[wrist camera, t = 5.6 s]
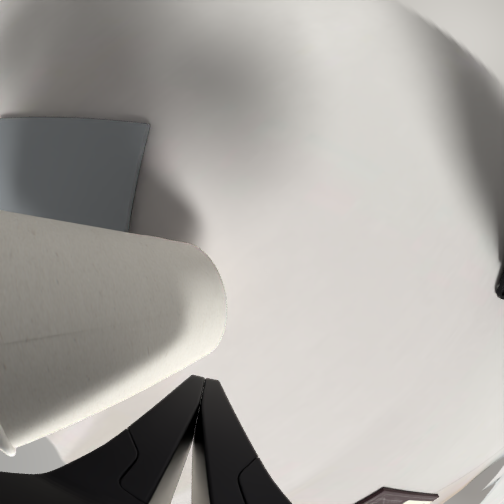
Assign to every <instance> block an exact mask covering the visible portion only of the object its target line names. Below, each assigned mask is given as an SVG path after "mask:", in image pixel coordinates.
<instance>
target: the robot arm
mask: <svg viewBox="0 0 504 504" xmlns="http://www.w3.org/2000/svg"><path fill="white" fill-rule="evenodd" d="M497 296H498V297H499V298H501V299H504V272H503V275H502V278H501V281H500V284H499V287H498V290H497ZM204 382H205V383H204ZM203 387H204V388H203ZM202 392H203V393H202ZM201 397H202V398H201ZM200 402H201V403H200ZM199 407H200V408H199ZM198 412H199V413H198ZM197 417H198V418H197ZM196 422H197V423H196ZM195 427H196V428H195ZM194 432H195V433H194ZM193 437H194V439H193ZM192 441H193V450H192V504H292V503H291V502H290V501H289V499H288V498H287V497H286V496H285V495H284V494H283V492H282V491H281V490H280V489H279V487H278V486H277V485H276V483H275V482H274V481H273V479H272V478H271V476H270V475H269V473H268V472H267V470H266V469H265V467H264V465H263V463H262V462H261V460H260V458H258V455H257V453H256V451H255V450H254V448H253V446H252V444H251V442H250V441H249V439H248V437H247V435H246V433H245V431H244V429H243V427H242V426H241V424H240V422H239V420H238V418H237V416H236V414H235V412H234V410H233V408H232V406H231V404H230V402H229V400H228V398H227V396H226V394H225V392H224V390H223V388H222V386H221V384H220V382H219V381H218V380H214V379H209V378H206V379H205V378H204V377H200V376H196V375H191V376H190V377H189V378H187V379H186V380H185V381H184V382H183V383H182V384H180V385H179V386H178V387H177V388H176V389H174V390H173V391H172V392H171V393H170V394H168V395H167V396H166V397H165V398H164V399H162V400H161V401H160V402H159V403H158V404H156V405H155V406H154V407H153V408H151V409H150V410H149V411H148V412H147V413H145V414H144V415H143V416H142V417H140V418H139V419H138V420H137V421H135V422H134V423H133V424H131V425H130V426H129V427H128V428H127V429H125V430H124V431H122V432H121V433H120V434H119V435H117V436H116V437H114V438H113V439H112V440H110V441H109V442H107V443H106V444H104V445H102V446H101V447H99V448H97V449H96V450H94V451H92V452H90V453H88V454H86V455H84V456H82V457H80V458H78V459H76V460H74V461H72V462H70V463H68V464H66V465H64V466H62V467H60V468H58V469H56V470H53V471H50V472H47V473H43V474H19V473H8V472H0V504H170V503H171V500H172V498H173V495H174V492H175V489H176V487H177V484H178V481H179V478H180V476H181V473H182V470H183V467H184V464H185V462H186V459H187V456H188V453H189V450H190V448H191V444H192Z"/></svg>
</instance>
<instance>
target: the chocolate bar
mask: <svg viewBox="0 0 504 504" xmlns="http://www.w3.org/2000/svg"><path fill="white" fill-rule="evenodd" d="M438 497H439V496H438V495H437V494H425V493H416V492H408V491H401V490H395V489H389V488H384V487H383V488H382V489H380V490H379V491H377V492H375V493H374V494H372V495H370V496H368V497H367V498H365V499H363V500H361V501H360V502H358V503H356V504H429V503H431V502H432V501H434V500H435V499H437V498H438Z"/></svg>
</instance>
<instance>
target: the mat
mask: <svg viewBox="0 0 504 504" xmlns="http://www.w3.org/2000/svg"><path fill="white" fill-rule="evenodd" d="M149 129H150V125H149V124H146V123H137V122H128V121H117V120H105V119H90V118H69V117H20V118H0V210H3V211H8V212H14V213H20V214H25V215H31V216H37V217H42V218H48V219H54V220H59V221H65V222H71V223H76V224H82V225H88V226H93V227H99V228H105V229H111V230H116V231H122V232H128V230H129V223H130V217H131V211H132V205H133V200H134V194H135V189H136V184H137V179H138V175H139V170H140V165H141V161H142V157H143V152H144V148H145V144H146V140H147V136H148V133H149Z"/></svg>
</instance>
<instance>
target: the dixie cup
mask: <svg viewBox="0 0 504 504" xmlns="http://www.w3.org/2000/svg"><path fill="white" fill-rule="evenodd" d="M226 300H227V298H226V293H225V288H224V285H223V282H222V279H221V276H220V274H219V272H218V270H217V268H216V266H215V265H214V263H213V262H212V260H211V259H210V258H209V257H208V255H207V254H206V253H205V252H204V251H202V250H201V249H200V248H198V247H197V246H195V245H193V244H190V243H185V242H180V241H174V240H168V239H165V238H160V237H155V236H149V235H139V234H134V233H128V232H122V231H116V230H111V229H105V228H99V227H93V226H88V225H82V224H76V223H71V222H65V221H59V220H54V219H48V218H42V217H37V216H31V215H25V214H20V213H14V212H8V211H3V210H0V450H1V451H3V452H4V453H5V454H7V455H8V456H14V455H15V454H16V447H19V446H22V445H24V444H27V443H30V442H32V441H35V440H37V439H40V438H42V437H45V436H47V435H49V434H52V433H54V432H56V431H59V430H61V429H63V428H66V427H68V426H70V425H73V424H75V423H77V422H79V421H81V420H84V419H86V418H88V417H90V416H92V415H94V414H97V413H99V412H101V411H103V410H105V409H107V408H109V407H111V406H113V405H115V404H117V403H119V402H121V401H123V400H125V399H127V398H129V397H131V396H133V395H135V394H137V393H139V392H141V391H143V390H145V389H147V388H149V387H150V386H152V385H154V384H156V383H158V382H160V381H162V380H163V379H165V378H167V377H169V376H171V375H173V374H174V373H176V372H178V371H180V370H182V369H183V368H185V367H187V366H189V365H191V364H192V363H194V362H196V361H198V360H199V359H201V358H203V357H205V356H206V355H208V354H210V353H211V352H212V351H213V350H214V349H215V348H216V347H217V346H218V344H219V343H220V341H221V339H222V336H223V334H224V331H225V326H226V320H227V302H226Z"/></svg>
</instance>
